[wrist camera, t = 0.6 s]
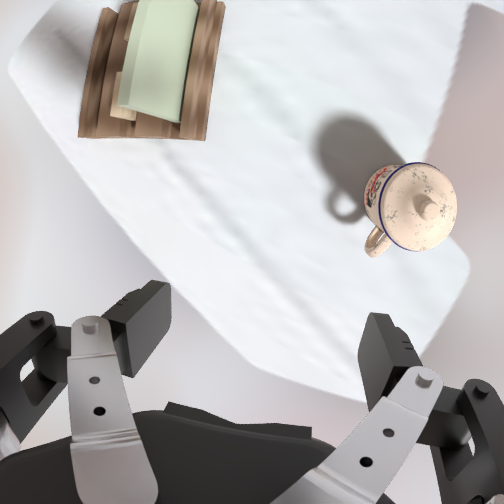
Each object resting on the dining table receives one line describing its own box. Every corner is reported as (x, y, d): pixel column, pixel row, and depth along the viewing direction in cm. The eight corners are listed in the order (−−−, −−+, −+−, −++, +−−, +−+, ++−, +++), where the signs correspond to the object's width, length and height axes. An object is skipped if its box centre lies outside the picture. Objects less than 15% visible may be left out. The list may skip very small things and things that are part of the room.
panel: (194, 14, 31) (151, -39, 18) (203, 13, 31) (162, -41, 17) (176, 123, 35) (116, 105, 22) (185, 123, 35) (128, 104, 22)
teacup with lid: (389, 147, 34) (425, 141, 23) (438, 195, 34) (484, 208, 23) (332, 220, 38) (346, 243, 26) (383, 264, 38) (412, 300, 27)
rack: (113, 19, 33) (98, 9, 29) (225, 6, 31) (217, -9, 27) (92, 138, 39) (73, 137, 35) (205, 140, 37) (193, 137, 33)
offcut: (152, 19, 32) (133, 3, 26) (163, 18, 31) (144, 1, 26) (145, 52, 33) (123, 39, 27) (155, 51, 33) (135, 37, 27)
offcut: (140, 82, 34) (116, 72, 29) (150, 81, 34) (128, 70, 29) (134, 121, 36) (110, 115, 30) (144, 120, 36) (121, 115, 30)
